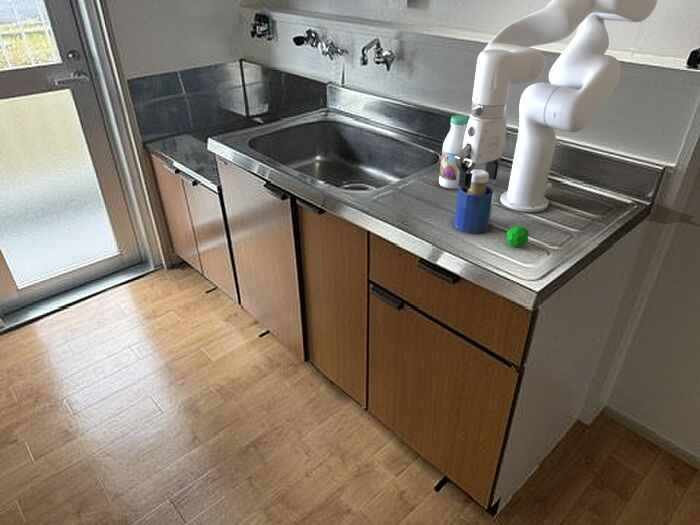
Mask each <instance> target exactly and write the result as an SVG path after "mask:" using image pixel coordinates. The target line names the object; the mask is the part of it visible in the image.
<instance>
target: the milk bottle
mask: <svg viewBox="0 0 700 525" xmlns="http://www.w3.org/2000/svg"><path fill="white" fill-rule="evenodd" d="M468 121H469V118H468V116H466V115H460V114H457V115H452V116H451V118H450V129H449V132H448V133H447V135H446V137H445V139H444V141H443V143H442V144H443V145H442V150H441V158H440V166H439V177H438V183H439V186H441V187H444V188H446V189H453V190H454V189H457V190H458V188H459V185H458V184H459V176H460V171H459V169H458V167H457V163H456V160H455V157H456V155H457V154H458V153H459V152H460V151H461V150H462V149H463V142H464V137H465V132H466V128H467V124H468ZM466 165H467V167H468V166H469V162H467V164H466Z"/></svg>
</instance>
